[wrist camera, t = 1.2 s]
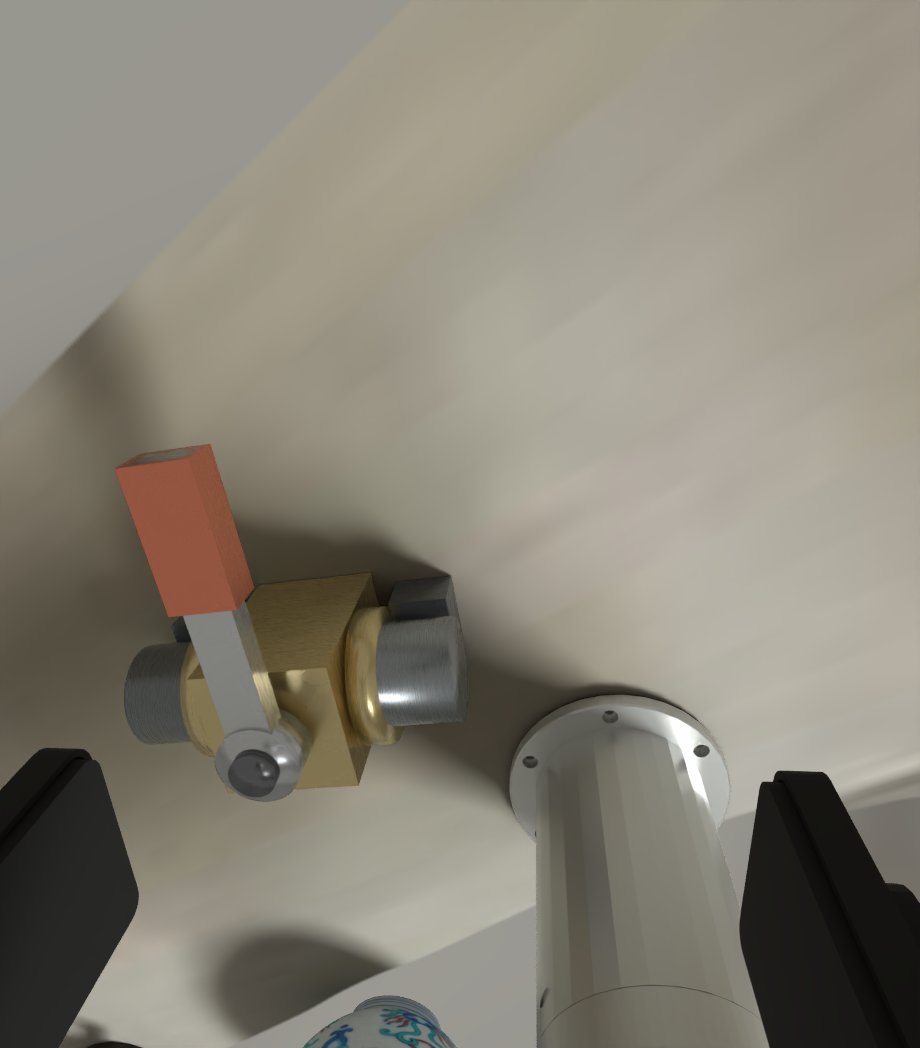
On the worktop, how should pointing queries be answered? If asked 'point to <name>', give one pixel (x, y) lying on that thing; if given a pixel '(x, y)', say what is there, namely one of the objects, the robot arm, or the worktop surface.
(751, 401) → the worktop surface
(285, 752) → the valve lever
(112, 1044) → the french press
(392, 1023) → the chinaware
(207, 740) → the ball valve
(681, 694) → the worktop surface
